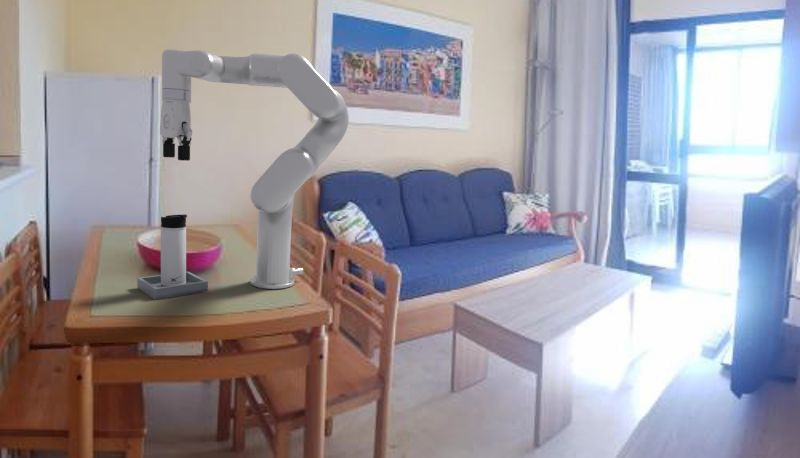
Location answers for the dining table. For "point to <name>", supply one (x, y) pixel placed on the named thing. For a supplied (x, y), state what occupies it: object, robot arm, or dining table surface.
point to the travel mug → (173, 250)
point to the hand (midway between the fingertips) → (176, 158)
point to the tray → (155, 290)
